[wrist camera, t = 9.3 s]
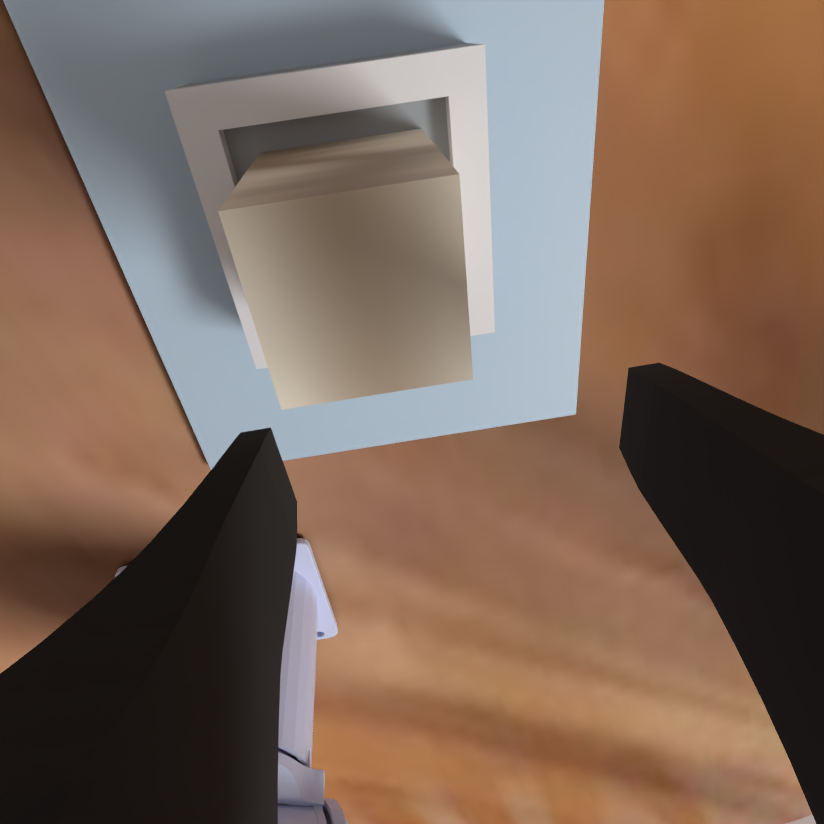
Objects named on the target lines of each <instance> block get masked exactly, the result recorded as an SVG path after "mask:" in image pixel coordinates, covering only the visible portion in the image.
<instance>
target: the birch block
mask: <svg viewBox="0 0 824 824" xmlns="http://www.w3.org/2000/svg"><path fill="white" fill-rule="evenodd" d="M218 213H219V216H220V219H221V222H222V225H223V228H224V231H225V235H226V238H227V241H228V244H229V247H230V250H231V253H232V257H233V260H234V263H235V266H236V269H237V272H238V275H239V278H240V282H241V285H242V288H243V291H244V294H245V297H246V300H247V303H248V307H249V310H250V313H251V316H252V319H253V322H254V325H255V329H256V332H257V335H258V338H259V341H260V344H261V347H262V350H263V354H264V357H265V360H266V363H267V366H268V369H269V372H270V375H271V379H272V382H273V385H274V388H275V391H276V394H277V397H278V401H279V404H280V407H281V410H284V409H290V408H296V407H302V406H309V405H315V404H321V403H328V402H334V401H340V400H346V399H353V398H359V397H365V396H371V395H378V394H384V393H390V392H397V391H403V390H409V389H415V388H422V387H428V386H434V385H441V384H447V383H453V382H459V381H466V380H472V379H473V368H472V353H471V338H470V323H469V308H468V293H467V278H466V263H465V248H464V233H463V218H462V203H461V188H460V174H459V173H458V172H457V170H456V169H455V168H454V167H453V166H452V164H451V163H450V162H449V161H448V160H447V158H446V157H445V156H444V155H443V154H442V152H441V151H440V150H439V149H438V148H437V146H436V145H435V144H434V143H433V142H432V140H431V139H430V138H429V137H428V136H427V134H426V133H425V132H424V131H423V130H422V128H421V129H414V130H408V131H401V132H395V133H388V134H382V135H375V136H368V137H362V138H355V139H349V140H342V141H336V142H329V143H322V144H316V145H309V146H303V147H296V148H290V149H283V150H277V151H270V152H263V153H259V154H258V156H257V157H256V159H255V160H254V161H253V163H252V164H251V166H250V167H249V168H248V170H247V171H246V173H245V174H244V175H243V177H242V178H241V180H240V181H239V182H238V184H237V185H236V187H235V188H234V189H233V191H232V192H231V194H230V195H229V196H228V198H227V199H226V201H225V202H224V203H223V205H222V206H221V208H220V209H219V211H218Z"/></svg>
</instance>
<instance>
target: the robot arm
mask: <svg viewBox="0 0 824 824" xmlns="http://www.w3.org/2000/svg"><path fill="white" fill-rule="evenodd" d="M619 448H620V450H621V452H622V455H623V457H624V459H625V461H626V463H627V466H628V468H629V470H630V472H631V474H632V476H633V478H634V480H635V482H636V484H637V486H638V488H639V490H640V491H641V493H642V495H643V496H644V498H645V499H646V501H647V502H648V504H649V505H650V507H651V508H652V510H653V511H654V513H655V514H656V516H657V517H658V519H659V521H660V522H661V524H662V525H663V526H664V528H665V529H666V531H667V532H668V534H669V535H670V537H671V538H672V540H673V541H674V543H675V544H676V546H677V547H678V549H679V550H680V552H681V553H682V555H683V556H684V558H685V559H686V561H687V562H688V564H689V565H690V567H691V568H692V570H693V571H694V573H695V574H696V576H697V577H698V579H699V580H700V582H701V584H702V585H703V587H704V589H705V590H706V592H707V594H708V595H709V597H710V598H711V600H712V602H713V604H714V606H715V608H716V610H717V611H718V613H719V615H720V617H721V619H722V621H723V623H724V625H725V627H726V629H727V630H728V632H729V634H730V636H731V638H732V640H733V642H734V644H735V646H736V648H737V650H738V652H739V654H740V656H741V658H742V660H743V662H744V664H745V666H746V668H747V670H748V672H749V674H750V676H751V678H752V680H753V682H754V684H755V686H756V688H757V690H758V692H759V694H760V696H761V698H762V700H763V703H764V705H765V707H766V709H767V711H768V714H769V716H770V718H771V720H772V722H773V725H774V727H775V729H776V731H777V733H778V735H779V738H780V740H781V742H782V744H783V746H784V749H785V751H786V753H787V755H788V757H789V759H790V762H791V764H792V767H793V769H794V771H795V774H796V776H797V778H798V781H799V783H800V786H801V788H802V790H803V793H804V795H805V797H806V800H807V802H808V805H809V807H810V809H811V812H812V814H813V816H814V819H815V821H816V824H824V435H823V434H820V433H818V432H815V431H813V430H810V429H808V428H805V427H803V426H800V425H798V424H795V423H793V422H790V421H788V420H786V419H783V418H781V417H779V416H776V415H774V414H772V413H769V412H767V411H765V410H763V409H760V408H758V407H756V406H754V405H751V404H749V403H747V402H745V401H743V400H741V399H738V398H736V397H734V396H732V395H730V394H728V393H725V392H723V391H721V390H719V389H717V388H715V387H713V386H711V385H708V384H706V383H704V382H702V381H700V380H698V379H696V378H694V377H691V376H689V375H687V374H685V373H683V372H680V371H678V370H676V369H673V368H671V367H669V366H666V365H663V364H661V363H655V364H649V365H643V366H637V367H631V368H629V370H628V378H627V387H626V395H625V404H624V412H623V421H622V429H621V438H620V446H619ZM337 633H338V626H337V623H336V620H335V617H334V614H333V611H332V608H331V605H330V602H329V599H328V596H327V593H326V590H325V588H324V585H323V582H322V579H321V576H320V573H319V570H318V567H317V564H316V561H315V558H314V555H313V552H312V549H311V546H310V543H309V542H308V541H307V540H306V539H303V538H297V501H296V498H295V495H294V492H293V489H292V486H291V484H290V481H289V478H288V475H287V472H286V469H285V466H284V464H283V461H282V458H281V455H280V452H279V449H278V446H277V444H276V441H275V438H274V435H273V432H272V429H271V428H265V429H259V430H253V431H247V432H241V433H240V434H239V435H238V436H237V437H236V439H235V440H234V441H233V442H232V444H231V445H230V446H229V447H228V449H227V450H226V451H225V453H224V454H223V455H222V457H221V458H220V459H219V461H218V462H217V463H216V464H215V466H214V467H213V468H212V470H211V471H210V472H209V474H208V475H207V476H206V477H205V479H204V480H203V481H202V482H201V484H200V485H199V486H198V487H197V489H196V490H195V491H194V492H193V494H192V495H191V496H190V497H189V499H188V500H187V501H186V502H185V504H184V505H183V506H182V507H181V508H180V509H179V510H178V512H177V513H176V514H175V515H174V516H173V517H172V518H171V519H170V521H169V522H168V523H167V524H166V525H165V526H164V527H163V529H162V530H161V531H160V532H159V533H158V534H157V535H156V536H155V538H154V539H153V540H152V541H151V542H150V543H149V544H148V545H147V546H146V548H145V549H144V550H143V551H142V552H141V553H140V554H139V555H138V556H137V557H136V558H135V559H134V560H133V561H132V562H131V563H130V564H129V565H128V566H123V567H120V568H119V569H118V570H117V572H116V574H115V578H114V579H113V580H112V581H111V582H110V583H109V584H108V585H107V586H106V587H105V588H104V589H103V590H102V591H101V592H100V593H98V594H97V595H96V596H95V597H94V598H93V599H92V600H91V601H89V602H88V603H87V604H86V605H85V606H84V607H82V608H81V609H80V610H79V611H78V612H76V613H75V614H74V615H73V616H72V617H71V618H69V619H68V620H67V621H66V622H65V623H64V624H62V625H61V626H60V627H59V628H58V629H56V630H55V631H54V632H53V633H52V634H51V635H49V636H48V637H47V638H46V639H45V640H43V641H42V642H41V643H40V644H38V645H37V646H36V647H35V648H33V649H32V650H31V651H29V652H28V653H27V654H26V655H24V656H23V657H22V658H20V659H19V660H18V661H17V662H15V663H14V664H13V665H11V666H10V667H9V668H7V669H6V670H5V671H3V672H2V673H1V674H0V824H349V823H348V821H347V820H346V817H345V814H344V812H343V810H342V808H341V806H340V805H339V803H338V802H337V801H336V800H334V799H330V798H326V799H324V785H325V771H324V770H320V769H314V768H311V758H312V736H313V713H314V691H315V668H316V646H317V640H319V639H325V638H331V637H334V636H335V635H336V634H337Z"/></svg>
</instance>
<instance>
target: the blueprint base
mask: <svg viewBox="0 0 824 824" xmlns="http://www.w3.org/2000/svg"><path fill="white" fill-rule="evenodd" d="M3 2H4V4H5V6H6V8H7V11H8V13H9V15H10V17H11V20H12V22H13V24H14V27H15V29H16V31H17V33H18V36H19V38H20V40H21V42H22V45H23V47H24V49H25V51H26V54H27V56H28V58H29V60H30V63H31V65H32V67H33V69H34V72H35V74H36V76H37V78H38V81H39V83H40V85H41V87H42V90H43V92H44V94H45V97H46V99H47V101H48V103H49V106H50V108H51V110H52V112H53V115H54V117H55V119H56V121H57V124H58V126H59V128H60V130H61V133H62V135H63V137H64V139H65V142H66V144H67V146H68V148H69V151H70V153H71V155H72V157H73V160H74V162H75V164H76V167H77V169H78V171H79V173H80V176H81V178H82V180H83V182H84V185H85V187H86V189H87V191H88V194H89V196H90V198H91V200H92V203H93V205H94V207H95V209H96V212H97V214H98V216H99V218H100V221H101V223H102V225H103V227H104V230H105V232H106V234H107V237H108V239H109V241H110V243H111V246H112V248H113V250H114V252H115V255H116V257H117V259H118V261H119V264H120V266H121V268H122V270H123V273H124V275H125V277H126V279H127V282H128V284H129V286H130V288H131V291H132V293H133V295H134V297H135V300H136V302H137V304H138V307H139V309H140V311H141V313H142V316H143V318H144V320H145V322H146V325H147V327H148V329H149V331H150V334H151V336H152V338H153V340H154V343H155V345H156V347H157V349H158V352H159V354H160V356H161V358H162V361H163V363H164V365H165V367H166V370H167V372H168V374H169V376H170V379H171V381H172V383H173V386H174V388H175V390H176V392H177V395H178V397H179V399H180V401H181V404H182V406H183V408H184V410H185V413H186V415H187V417H188V419H189V422H190V424H191V426H192V428H193V431H194V433H195V435H196V437H197V440H198V442H199V444H200V446H201V449H202V451H203V453H204V456H205V458H206V460H207V462H208V465H209V467H210V469H211V470H212V468H213V467H214V466H215V464H216V463H217V462H218V461H219V459H220V458H221V457H222V455H223V454H224V453H225V451H226V450H227V449H228V447H229V446H230V445H231V444H232V442H233V441H234V440H235V439H236V437H237V436H238V435H239V434H240V433H241V432H247V431H253V430H259V429H265V428H271V429H272V432H273V435H274V438H275V441H276V444H277V446H278V449H279V452H280V455H281V458H282V461H284V460H291V459H297V458H303V457H309V456H316V455H322V454H328V453H335V452H341V451H347V450H354V449H360V448H366V447H373V446H379V445H385V444H391V443H398V442H404V441H410V440H417V439H423V438H429V437H436V436H442V435H448V434H455V433H461V432H467V431H473V430H480V429H486V428H492V427H499V426H505V425H511V424H518V423H524V422H530V421H537V420H543V419H549V418H556V417H562V416H568V415H574V414H576V404H577V389H578V375H579V360H580V346H581V331H582V317H583V302H584V287H585V273H586V258H587V244H588V229H589V215H590V200H591V186H592V171H593V156H594V142H595V127H596V113H597V98H598V84H599V69H600V55H601V40H602V25H603V11H604V0H3ZM421 128H422V130H423V131H424V132H425V133H426V134H427V136H428V137H429V138H430V139H431V140H432V142H433V143H434V144H435V145H436V146H437V148H438V149H439V150H440V151H441V152H442V154H443V155H444V156H445V157H446V158H447V160H448V161H449V162H450V163H451V164H452V166H453V167H454V168H455V169H456V170H457V172H458V173H459V174H460V188H461V203H462V218H463V233H464V248H465V263H466V278H467V293H468V308H469V323H470V338H471V353H472V368H473V379H472V380H466V381H459V382H453V383H447V384H441V385H434V386H428V387H422V388H415V389H409V390H403V391H397V392H390V393H384V394H378V395H371V396H365V397H359V398H353V399H346V400H340V401H334V402H328V403H321V404H315V405H309V406H302V407H296V408H290V409H284V410H281V407H280V404H279V401H278V397H277V394H276V391H275V388H274V385H273V382H272V379H271V375H270V372H269V369H268V366H267V363H266V360H265V357H264V354H263V350H262V347H261V344H260V341H259V338H258V335H257V332H256V329H255V325H254V322H253V319H252V316H251V313H250V310H249V307H248V303H247V300H246V297H245V294H244V291H243V288H242V285H241V282H240V278H239V275H238V272H237V269H236V266H235V263H234V260H233V257H232V253H231V250H230V247H229V244H228V241H227V238H226V235H225V231H224V228H223V225H222V222H221V219H220V216H219V213H218V211H219V209H220V208H221V206H222V205H223V203H224V202H225V201H226V199H227V198H228V196H229V195H230V194H231V192H232V191H233V189H234V188H235V187H236V185H237V184H238V182H239V181H240V180H241V178H242V177H243V175H244V174H245V173H246V171H247V170H248V168H249V167H250V166H251V164H252V163H253V161H254V160H255V159H256V157H257V156H258V154H259V153H263V152H270V151H277V150H283V149H290V148H296V147H303V146H309V145H316V144H322V143H329V142H336V141H342V140H349V139H355V138H362V137H368V136H375V135H382V134H388V133H395V132H401V131H408V130H414V129H421Z"/></svg>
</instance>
